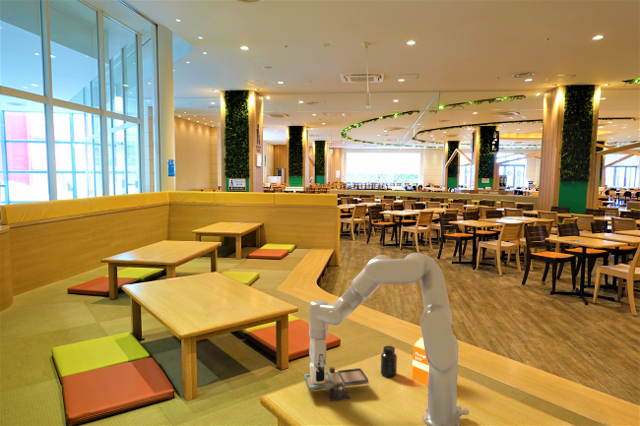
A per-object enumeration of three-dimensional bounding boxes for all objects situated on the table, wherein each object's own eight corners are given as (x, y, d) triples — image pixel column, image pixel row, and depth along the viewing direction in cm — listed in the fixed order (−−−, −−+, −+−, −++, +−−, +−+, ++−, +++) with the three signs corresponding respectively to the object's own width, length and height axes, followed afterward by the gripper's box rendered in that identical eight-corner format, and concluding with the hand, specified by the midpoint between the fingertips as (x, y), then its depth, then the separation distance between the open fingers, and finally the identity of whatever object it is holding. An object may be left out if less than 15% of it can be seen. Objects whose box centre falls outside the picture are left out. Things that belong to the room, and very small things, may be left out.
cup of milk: (328, 377, 154) (328, 360, 154) (325, 385, 148) (324, 368, 147) (311, 375, 156) (311, 358, 155) (307, 384, 149) (307, 366, 149)
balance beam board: (360, 371, 161) (360, 367, 161) (368, 383, 151) (368, 379, 151) (304, 378, 156) (304, 374, 156) (308, 391, 146) (308, 387, 146)
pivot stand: (340, 380, 162) (340, 365, 161) (350, 399, 147) (351, 383, 147) (321, 382, 160) (321, 367, 160) (330, 401, 146) (330, 385, 145)
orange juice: (412, 378, 163) (413, 333, 162) (423, 372, 169) (424, 328, 168) (428, 386, 158) (429, 338, 156) (439, 378, 164) (440, 333, 162)
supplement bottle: (378, 371, 170) (378, 345, 169) (391, 369, 172) (392, 343, 171) (385, 379, 163) (385, 351, 162) (399, 377, 165) (400, 349, 164)
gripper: (305, 324, 158) (304, 366, 159) (313, 341, 141) (313, 388, 142) (322, 323, 160) (322, 365, 161) (333, 340, 143) (332, 386, 144)
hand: (318, 375), depth 152 cm, fingers closed on cup of milk, 6 cm apart
